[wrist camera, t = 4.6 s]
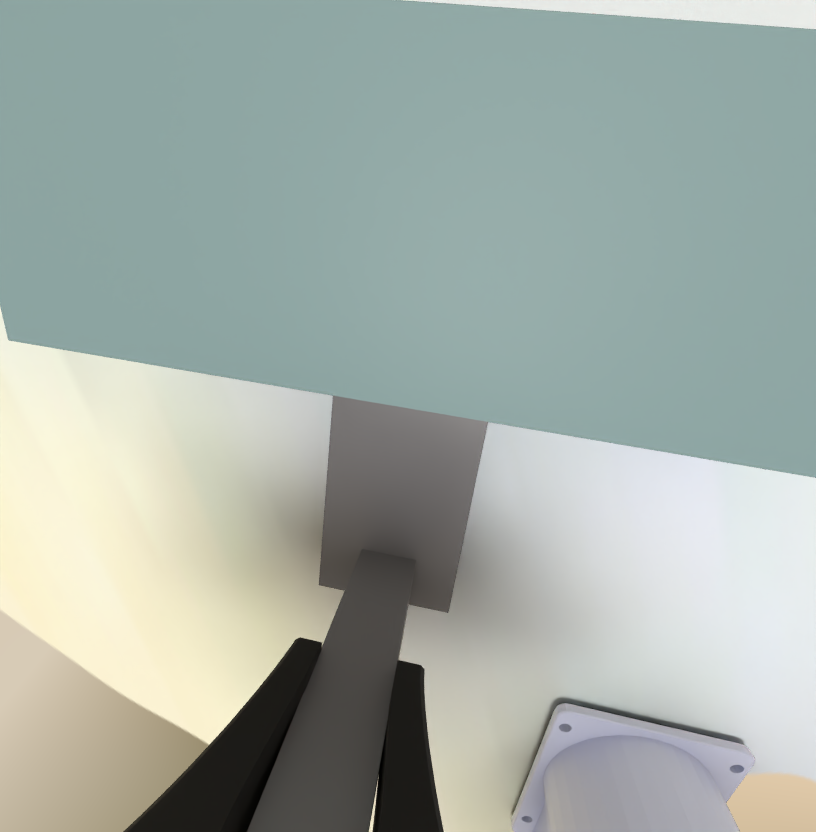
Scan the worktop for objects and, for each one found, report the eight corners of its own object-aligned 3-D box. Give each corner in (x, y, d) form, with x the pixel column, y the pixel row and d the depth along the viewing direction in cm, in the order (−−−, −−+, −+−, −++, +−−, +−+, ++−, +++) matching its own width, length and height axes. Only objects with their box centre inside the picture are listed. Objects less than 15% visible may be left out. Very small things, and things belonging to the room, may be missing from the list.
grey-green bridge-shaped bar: (735, 417, 12) (882, 489, 8) (147, 323, 14) (8, 340, 9) (855, 156, 9) (1164, 53, 5) (121, 84, 11) (-80, -34, 7)
